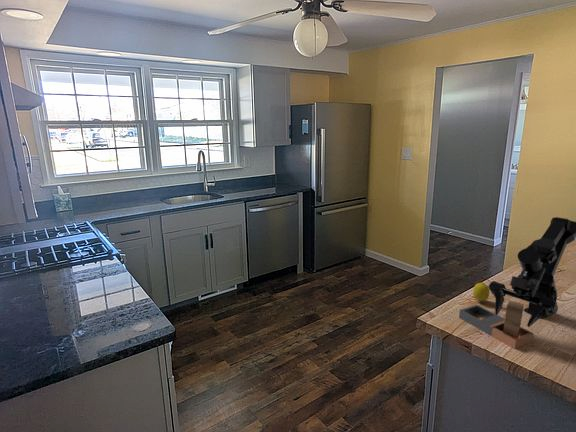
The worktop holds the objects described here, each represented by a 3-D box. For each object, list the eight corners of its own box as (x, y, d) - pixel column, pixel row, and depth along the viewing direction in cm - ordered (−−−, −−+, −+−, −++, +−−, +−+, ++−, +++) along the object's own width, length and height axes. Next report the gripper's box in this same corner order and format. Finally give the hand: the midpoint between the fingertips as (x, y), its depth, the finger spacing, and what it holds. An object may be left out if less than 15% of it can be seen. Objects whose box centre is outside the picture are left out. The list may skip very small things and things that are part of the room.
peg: (504, 333, 120) (509, 300, 116) (518, 337, 117) (523, 304, 114) (502, 338, 117) (507, 305, 113) (516, 343, 114) (521, 309, 111)
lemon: (474, 296, 144) (476, 278, 142) (489, 300, 141) (491, 281, 139) (470, 302, 140) (472, 283, 138) (486, 306, 136) (488, 287, 134)
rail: (475, 311, 133) (476, 304, 132) (532, 341, 115) (533, 332, 114) (459, 317, 129) (459, 309, 129) (514, 348, 111) (516, 339, 110)
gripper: (494, 258, 120) (475, 299, 116) (561, 275, 106) (542, 322, 102) (501, 273, 127) (483, 312, 123) (565, 292, 113) (547, 336, 109)
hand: (511, 320), depth 114 cm, fingers open, 9 cm apart
